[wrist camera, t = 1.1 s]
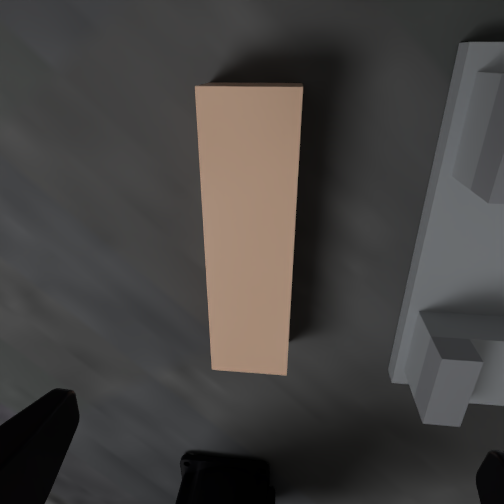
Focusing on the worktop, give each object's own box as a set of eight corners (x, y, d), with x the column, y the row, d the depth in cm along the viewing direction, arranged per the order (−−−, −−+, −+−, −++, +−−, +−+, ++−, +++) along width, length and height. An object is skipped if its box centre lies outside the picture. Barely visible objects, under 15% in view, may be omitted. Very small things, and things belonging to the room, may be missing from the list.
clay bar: (221, 333, 23) (212, 369, 20) (211, 82, 17) (194, 86, 14) (287, 338, 23) (286, 375, 20) (301, 82, 16) (302, 86, 14)
